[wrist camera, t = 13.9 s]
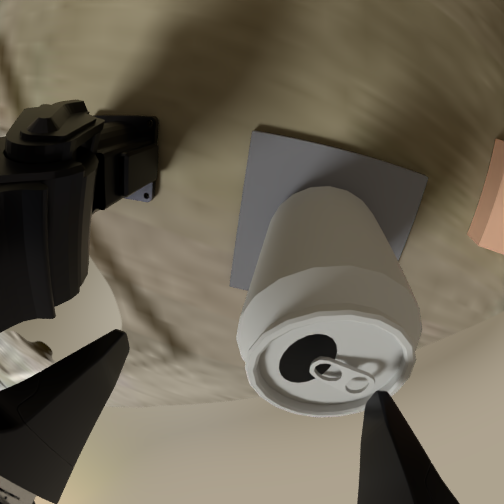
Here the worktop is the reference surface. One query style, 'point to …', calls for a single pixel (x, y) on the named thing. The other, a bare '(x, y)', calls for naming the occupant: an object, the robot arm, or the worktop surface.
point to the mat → (318, 175)
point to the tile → (491, 205)
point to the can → (327, 309)
